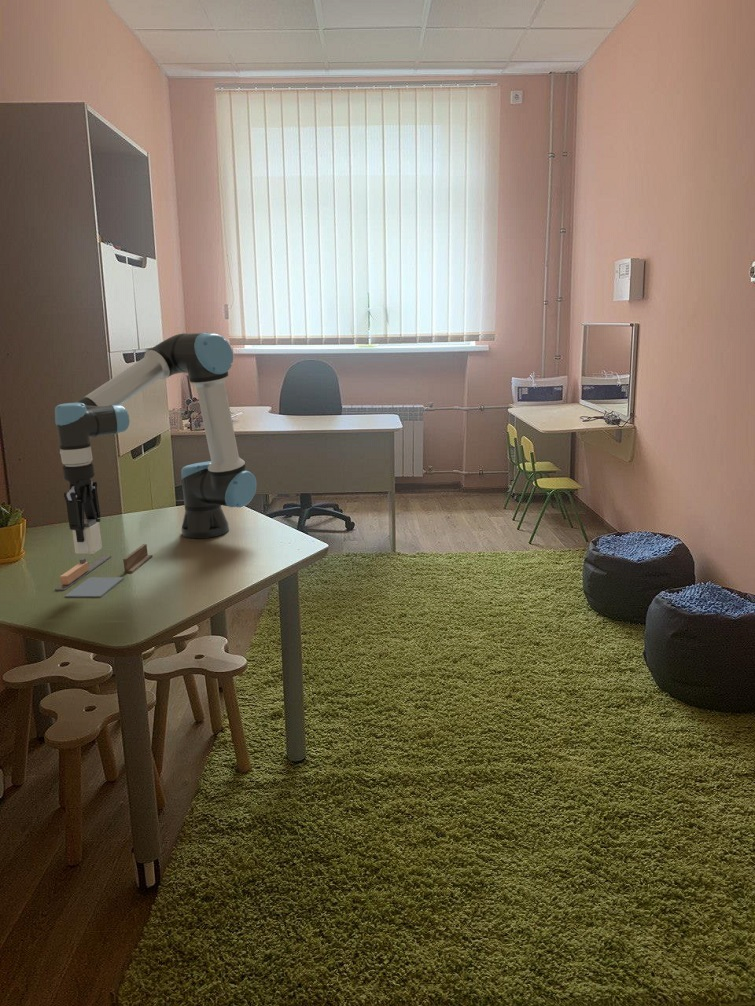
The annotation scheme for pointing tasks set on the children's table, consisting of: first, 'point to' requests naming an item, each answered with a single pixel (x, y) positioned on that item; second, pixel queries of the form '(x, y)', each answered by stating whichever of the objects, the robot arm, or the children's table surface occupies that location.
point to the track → (91, 568)
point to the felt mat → (94, 587)
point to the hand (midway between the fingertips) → (89, 549)
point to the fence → (136, 559)
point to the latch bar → (74, 572)
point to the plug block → (90, 536)
